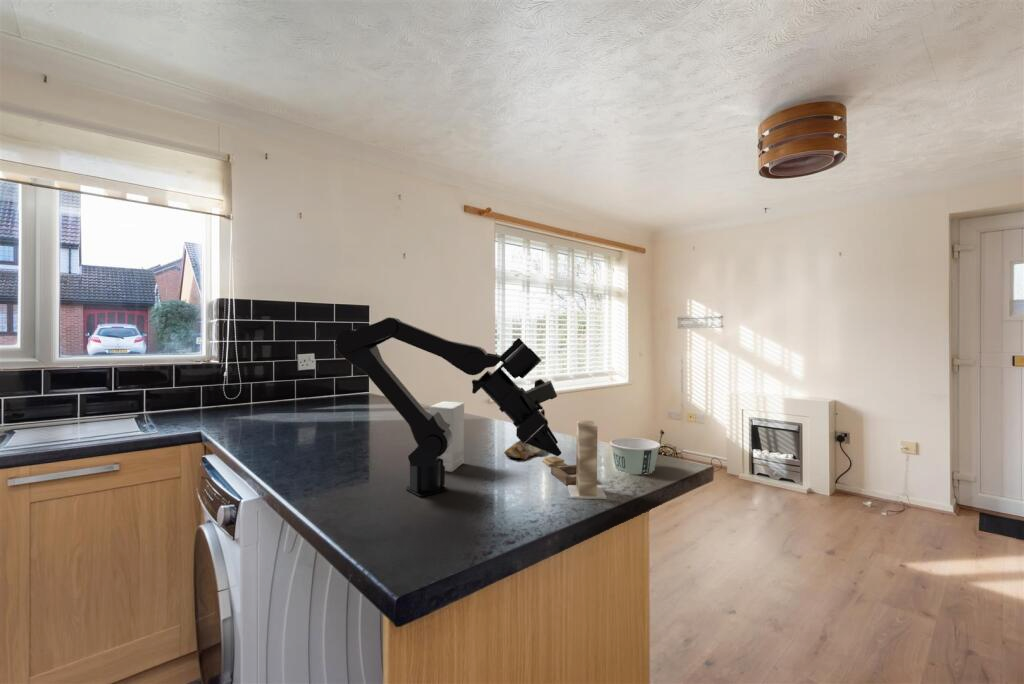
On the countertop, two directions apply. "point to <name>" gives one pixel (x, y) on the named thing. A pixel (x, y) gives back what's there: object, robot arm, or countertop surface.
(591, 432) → the tan wooden block
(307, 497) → the countertop surface
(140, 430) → the countertop surface
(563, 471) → the walnut rack
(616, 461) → the food container
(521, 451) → the decorative stone
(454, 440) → the skincare box
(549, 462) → the oak offcuts
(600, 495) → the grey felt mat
